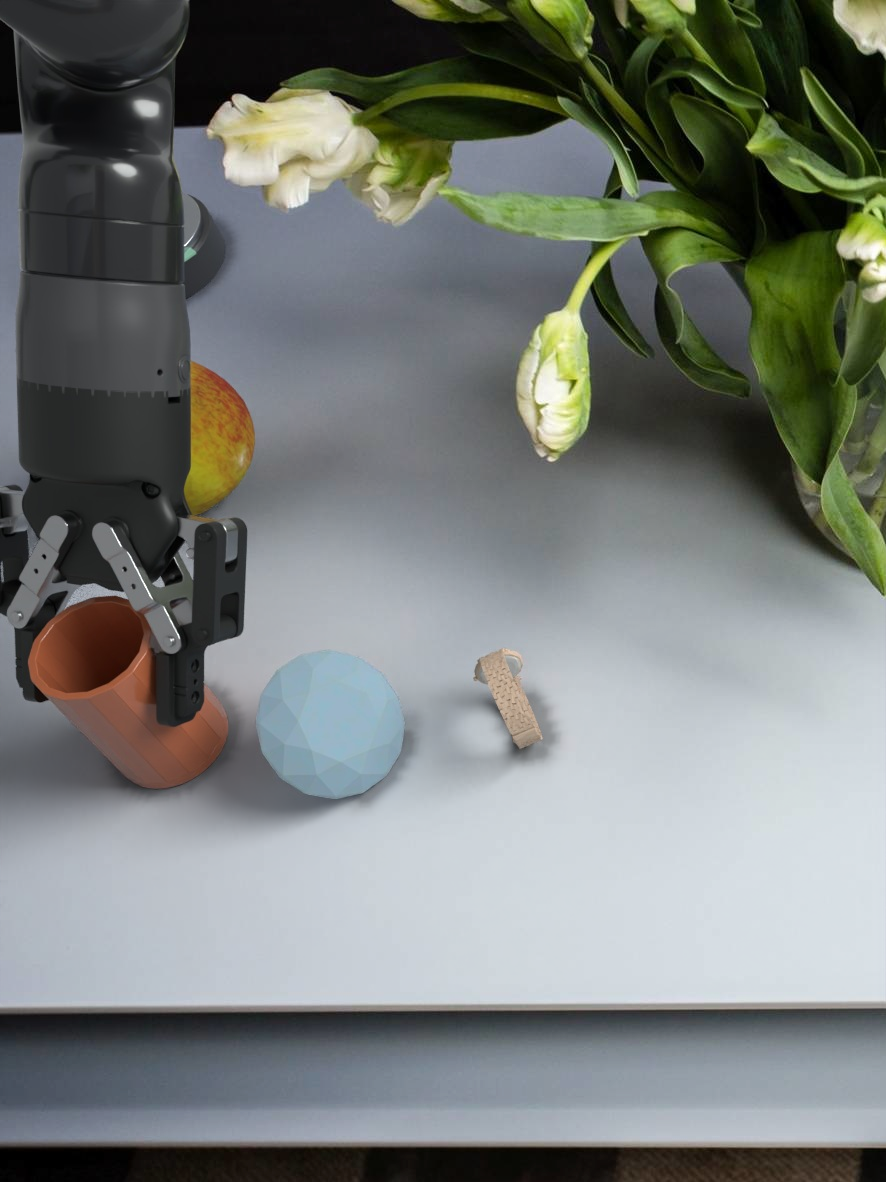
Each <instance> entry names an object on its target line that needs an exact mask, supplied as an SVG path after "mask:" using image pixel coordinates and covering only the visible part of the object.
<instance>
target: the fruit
mask: <svg viewBox="0 0 886 1182" xmlns="http://www.w3.org/2000/svg"><path fill="white" fill-rule="evenodd" d="M255 445H256V433H255V427H254V421H253V418H252V415H251V413H250V410H249V408H248V407H247V404H246V402H245V400H244V398H242V396H241V395H240V393H238V392H237V390H236V389H235V388H234V387H233V386H232V385H231V384H230V383H229V382H228V381H227V380H226V379H225V378H223V377H222V376H220V375H219V374H218V373H216V372H215V371H213V370H211V369H209V368H208V367H206V366H204V365H202V364H201V363H197V362H196V361H193V360H191V469H190V472H189V474H188V476H187V479H186V482H185V486H184V494H185V499H186V502H187V504H188V507H189V509H190V511H191V513H192V515H193V516H199V515H201V514H203V513H205V512H207V511H208V510H210V509H211V508H213V507H214V506H216V505H217V504H219V503H220V502H222V501H224V500H225V499H226V498H227V497H228V496H229V495H230V494H231V493H232V492H233V491H235V489H236V488H237V487H238V486H239V484H240V483H241V482H242V480H243V479H244V477H245V476H246V474H247V472H248V470H249V468H250V466H251V463H252V460H253V458H254V453H255Z"/></svg>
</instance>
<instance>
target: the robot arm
mask: <svg viewBox="0 0 886 1182" xmlns="http://www.w3.org/2000/svg"><path fill="white" fill-rule="evenodd" d="M190 13H191V12H190V0H0V21H2V22H3V23H5V25H7V26H8V27H9V28H11V29H12V30H13V41H14V54H15V55H14V56H15V67H16V78H17V79H16V80H17V81H16V82H17V94H18V102H19V103H18V104H19V105H18V106H19V115H20V125H21V133H22V134H21V135H22V153H21V158H20V165H19V166H20V167H19V174H18V175H19V176H18V186H17V187H18V189H17V209H18V211H17V226H18V228H17V229H18V230H17V231H18V260H19V261H18V264H19V269H20V272H19V279H18V281H19V282H18V283H19V284H18V293H17V300H16V307H15V319H14V320H15V322H14V329H15V330H14V337H15V370H16V371H15V372H16V375H15V377H16V406H17V407H16V408H17V436H18V438H17V439H18V440H17V441H18V462H19V465H20V467H21V468H22V469H23V471H25V472H26V473H28V474H29V479H28V484H27V486H26V489H25V490H23V489H22V487H21V486H19V485H18V484H8V485H0V614H1V615H3V616H4V617H6V619H7V621H8V623H9V625H11V626H12V627H13V630H14V652H15V653H14V654H15V655H14V657H15V679H16V681H17V684H18V687H19V688H20V689H22V697H23V699H24V700H26V701H28V702H33V703H39V704H40V703H45V702H48V701H50V700H49V699H48V698H47V697H46V696H45V695H44V694H43V693H42V692H41V691H40V690H39V689H38V687H37V686H36V685H35V684H34V683H33V682H32V680H31V677H30V671H29V666H28V659H29V655H30V652H31V649H32V645H33V642H34V640H35V639H36V637H37V636H38V635H39V633H40V632H41V631H42V629H43V628H44V627H45V625H46V624H47V623H48V622H49V621H50V620H51V619H53V618H54V617H55V616H57V615H58V614H59V613H61V612H62V611H63V610H65V609H66V608H67V605H68V604H69V601H70V600H71V598H72V596H73V595H74V593H75V591H77V590H78V589H79V588H81V587H82V586H85V585H86V586H87V585H92V584H95V585H98V586H99V587H101V588H104V589H106V590H108V591H114V592H120V593H124V594H125V596H126V599H128V600H129V602H130V604H131V606H132V607H133V609H134V610H135V611H136V612H138V613H140V614H142V615H144V616H145V618H146V620H147V621H148V623H149V625H150V627H151V629H152V631H153V633H154V635H155V637H156V639H157V641H158V643H159V645H160V647H161V648H162V650H163V651H162V652H159V653H156V718H157V722H158V723H159V724H160V725H165V726H170V727H176V726H179V725H181V724H184V723H186V722H189V721H191V720H193V719H194V717H195V715H196V712H198V711H200V710H201V708H202V706H203V703H204V683H205V653H206V650H207V648H208V647H210V646H212V645H215V644H217V643H221V642H224V641H227V640H232V639H236V638H238V637H240V636H241V635H242V634H243V632H244V629H245V625H244V624H245V607H246V606H245V605H246V603H245V602H246V580H247V579H246V578H247V553H248V526H247V525H246V523H245V521H244V520H243V519H242V518H240V517H234V516H233V517H230V518H221V519H214V518H210V517H204V516H199V515H196V516H193V515H192V513H191V511H190V509H189V507H188V504H187V502H186V499H185V494H184V486H185V482H186V479H187V476H188V474H189V472H190V469H191V361H192V360H191V359H192V357H191V355H192V354H191V352H192V350H191V327H190V319H189V313H188V307H187V298H186V297H185V285H184V284H182V283H183V282H184V226H183V225H184V224H185V222H184V203H183V194H182V192H183V188H182V182H181V178H180V173H179V171H178V168H177V165H176V163H175V156H174V154H175V153H174V143H175V142H174V141H175V86H176V84H175V82H176V81H175V80H176V79H175V78H176V61H177V60H176V59H177V55H178V53H179V51H180V50H181V49H182V47H183V44H184V42H185V40H186V38H187V34H188V30H189V26H190V16H191V15H190ZM29 527H31V529H32V531H33V533H34V535H35V537H36V538H37V539H38V542H37V544H36V546H35V548H34V549H33V551H32V552H31V555H30V552H29V551H30V550H29V549H30V548H29V533H28V532H29V531H28V529H29ZM185 543H186V545H187V549H186V550H185V551H186V552H185V554H186V557H187V558H188V559H191V560H192V561H193V568H192V572H193V573H192V575H191V574H190V572H189V570H188V568H187V565H186V564H185V562H184V560H183V558H182V556H181V554H180V552H179V551H180V550H181V548H182V547H183V545H184V544H185ZM1 565H2V566H1ZM2 577H3V579H2ZM159 579H161V580H162V582H163V585H164V586H161V587H160V586H156V585H155V584H154V583H156V582H157V581H158V580H159ZM2 580H3V581H2Z"/></svg>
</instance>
